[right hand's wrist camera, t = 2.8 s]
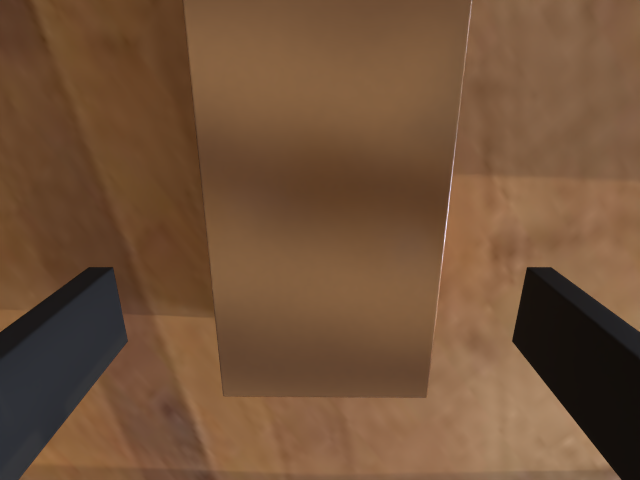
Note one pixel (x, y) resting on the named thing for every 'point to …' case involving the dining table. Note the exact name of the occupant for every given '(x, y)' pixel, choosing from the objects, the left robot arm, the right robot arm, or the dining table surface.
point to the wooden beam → (326, 186)
